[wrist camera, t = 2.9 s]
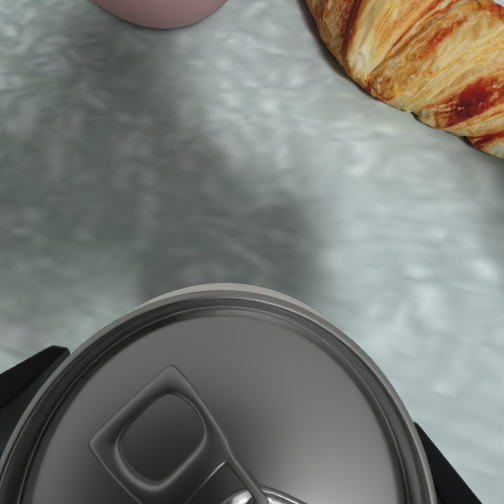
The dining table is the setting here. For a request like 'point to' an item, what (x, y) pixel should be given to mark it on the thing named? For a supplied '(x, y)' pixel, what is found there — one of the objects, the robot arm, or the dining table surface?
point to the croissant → (425, 59)
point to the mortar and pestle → (161, 11)
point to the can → (217, 412)
